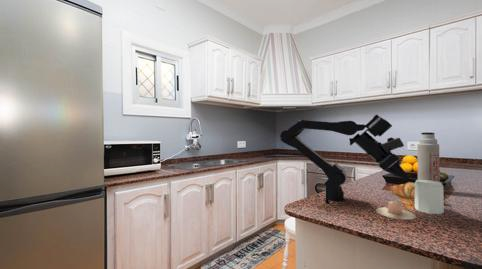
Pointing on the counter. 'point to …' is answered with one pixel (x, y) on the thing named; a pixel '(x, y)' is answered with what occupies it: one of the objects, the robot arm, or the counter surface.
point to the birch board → (404, 215)
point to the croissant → (404, 190)
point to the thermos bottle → (428, 158)
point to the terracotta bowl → (395, 207)
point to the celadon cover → (429, 196)
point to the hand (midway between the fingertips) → (405, 176)
